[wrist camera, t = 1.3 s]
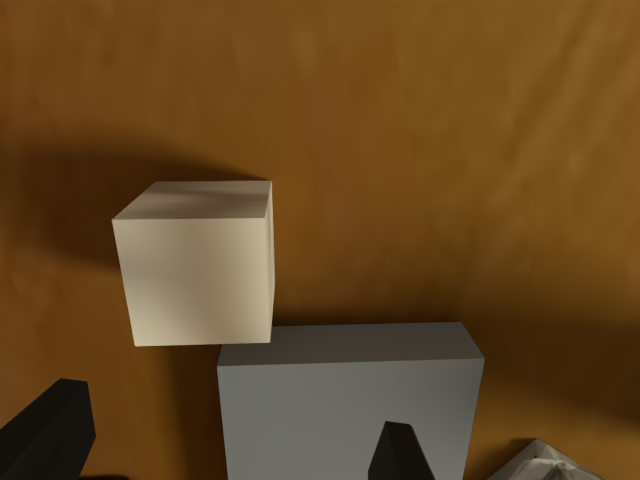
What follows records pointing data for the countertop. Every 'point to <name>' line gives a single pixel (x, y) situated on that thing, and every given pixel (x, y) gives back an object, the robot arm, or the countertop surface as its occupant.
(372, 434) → the gray plinth
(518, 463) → the packaged product
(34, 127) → the countertop surface
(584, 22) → the countertop surface
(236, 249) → the birch block
